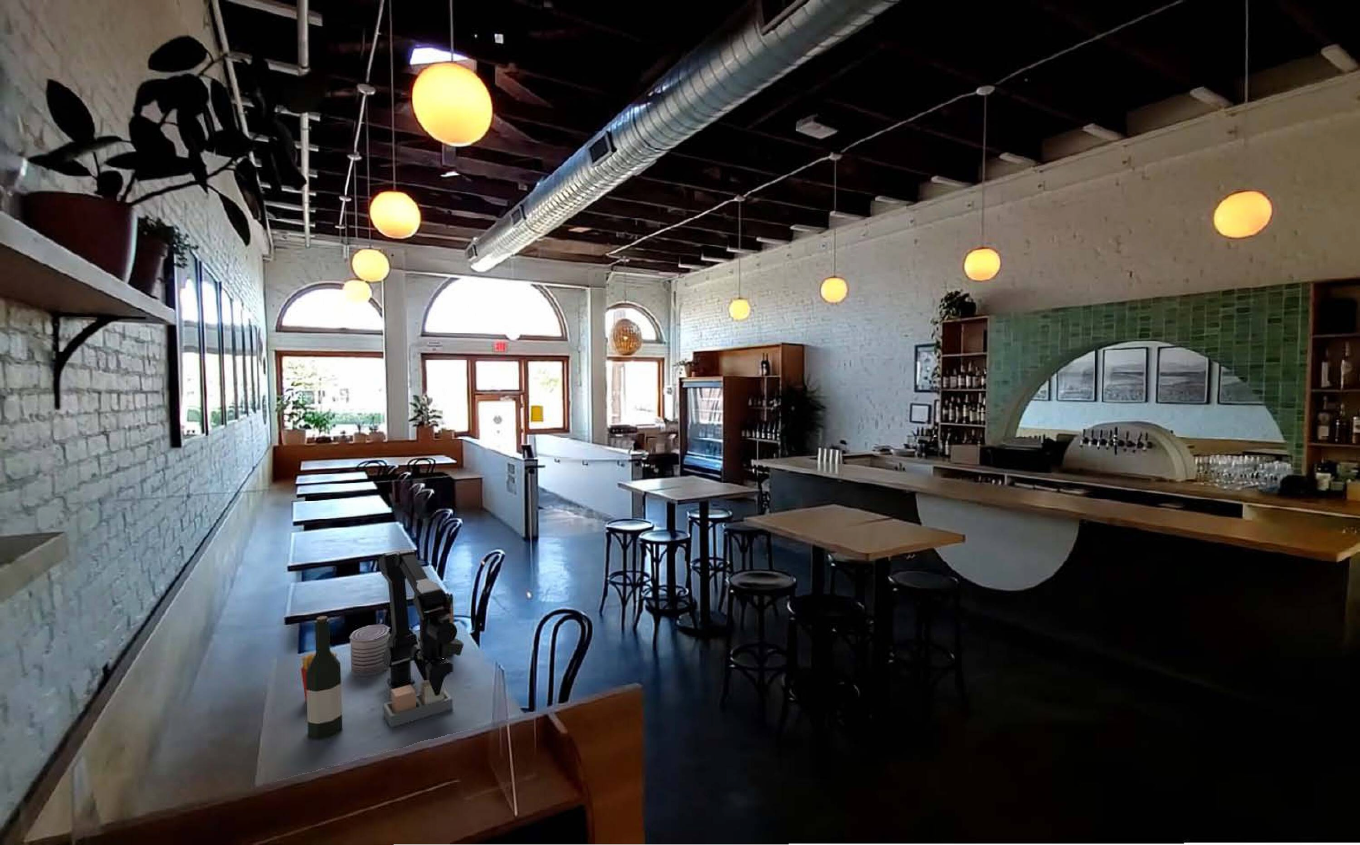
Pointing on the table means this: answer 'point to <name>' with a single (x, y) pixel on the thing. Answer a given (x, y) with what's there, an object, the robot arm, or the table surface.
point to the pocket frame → (417, 710)
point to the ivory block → (429, 693)
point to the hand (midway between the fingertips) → (432, 689)
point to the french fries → (304, 668)
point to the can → (369, 649)
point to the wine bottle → (323, 687)
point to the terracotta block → (403, 699)
